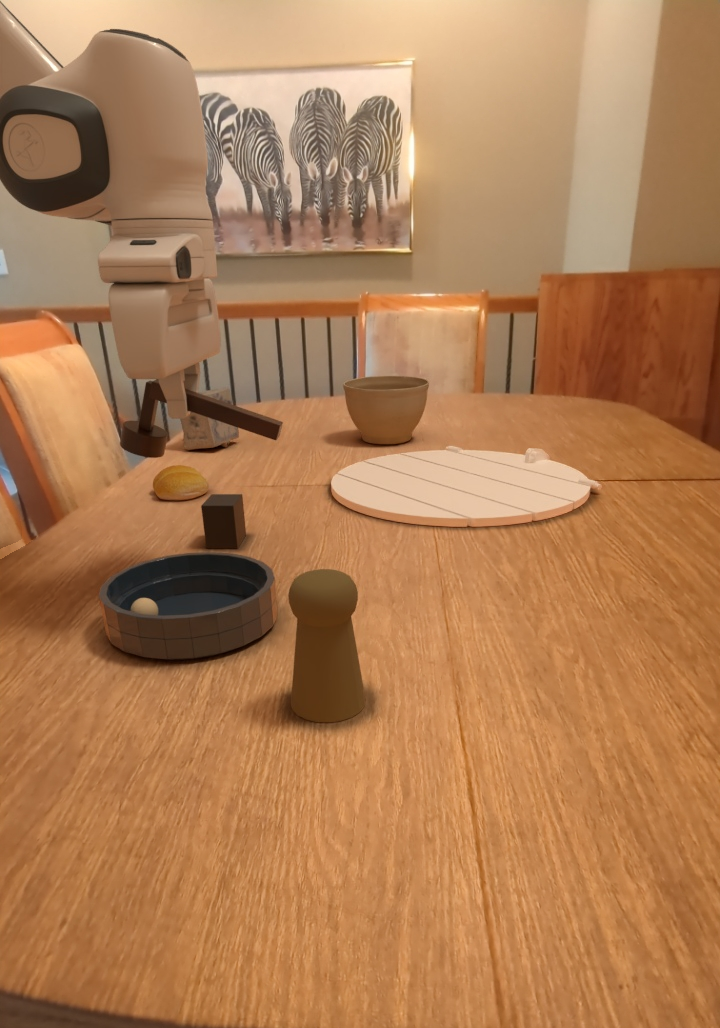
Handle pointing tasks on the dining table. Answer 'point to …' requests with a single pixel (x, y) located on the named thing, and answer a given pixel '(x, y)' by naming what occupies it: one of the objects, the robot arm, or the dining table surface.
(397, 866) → the dining table surface
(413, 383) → the planter bowl
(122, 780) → the dining table surface
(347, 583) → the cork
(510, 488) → the lazy susan
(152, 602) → the dough ball
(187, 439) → the incense holder
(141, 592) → the bowl
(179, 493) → the bread roll
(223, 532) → the dark brown upright block
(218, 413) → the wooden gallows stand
